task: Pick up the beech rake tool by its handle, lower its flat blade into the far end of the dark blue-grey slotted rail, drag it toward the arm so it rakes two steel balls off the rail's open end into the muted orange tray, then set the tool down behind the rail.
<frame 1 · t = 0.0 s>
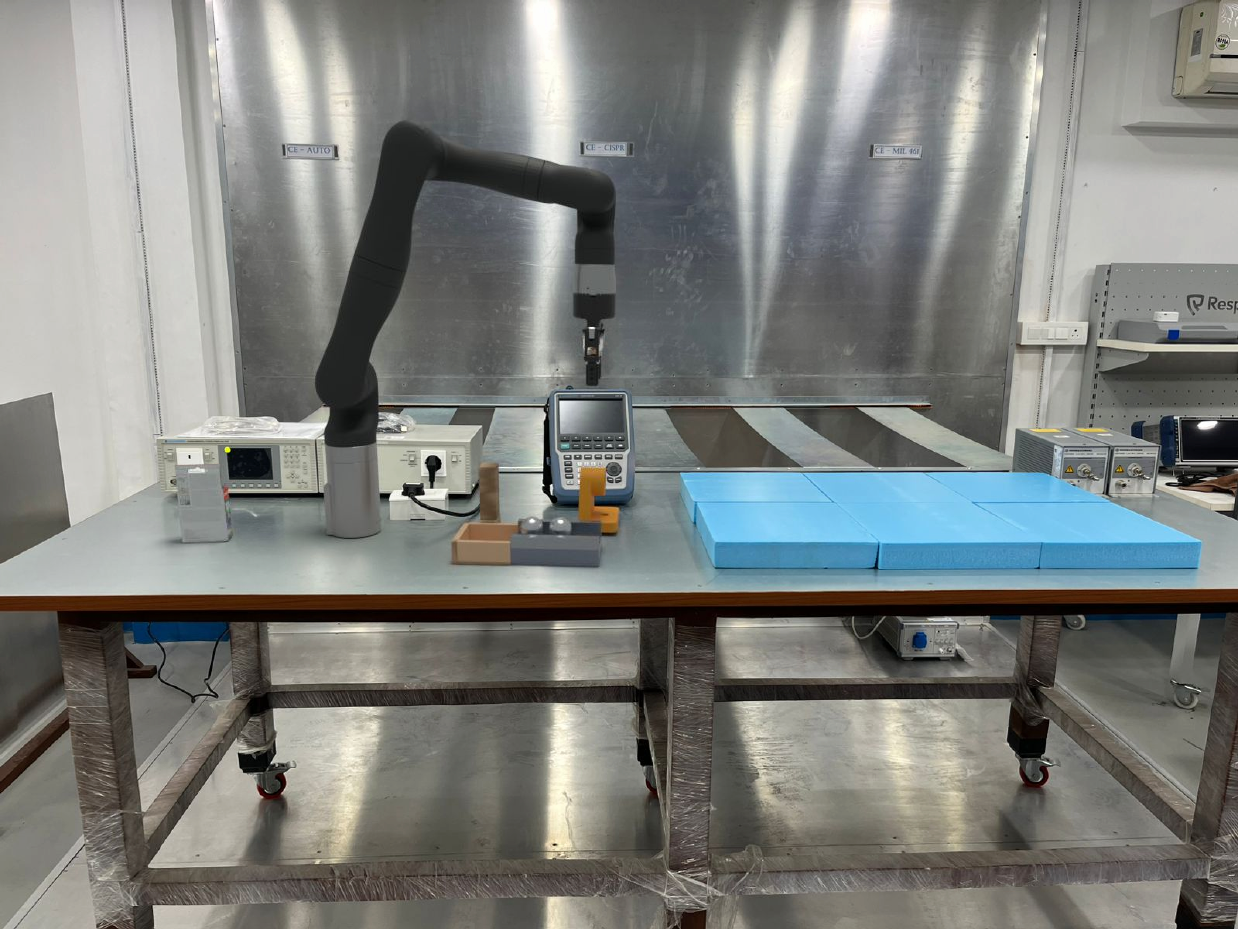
hand: (593, 382, 152), 29 cm above the table, tool pointing down, fingers open, 8 cm apart
rake tool: (490, 537, 158), on the table
slot rail: (557, 555, 149), on the table
ball 2: (560, 539, 148), point 3 cm above the table, touching slot rail
bracket: (599, 528, 165), on the table
ball 1: (532, 538, 148), point 3 cm above the table, touching slot rail
ink box: (208, 541, 154), on the table
tray: (487, 553, 149), on the table
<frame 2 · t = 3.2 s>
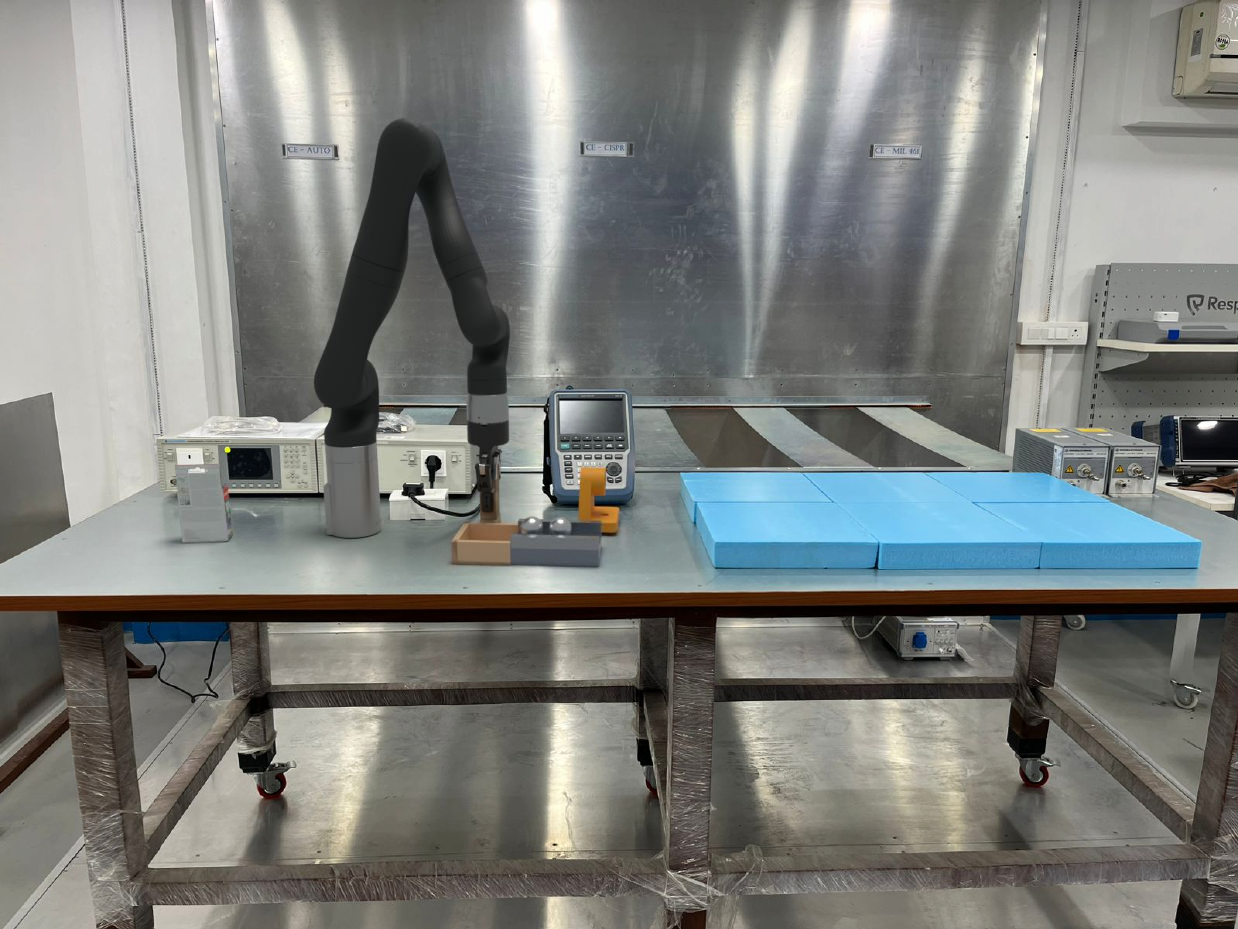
hand: (489, 508, 156), 6 cm above the table, tool pointing down, fingers closed on rake tool, 3 cm apart
rake tool: (490, 537, 158), on the table, touching gripper
everything else where it was.
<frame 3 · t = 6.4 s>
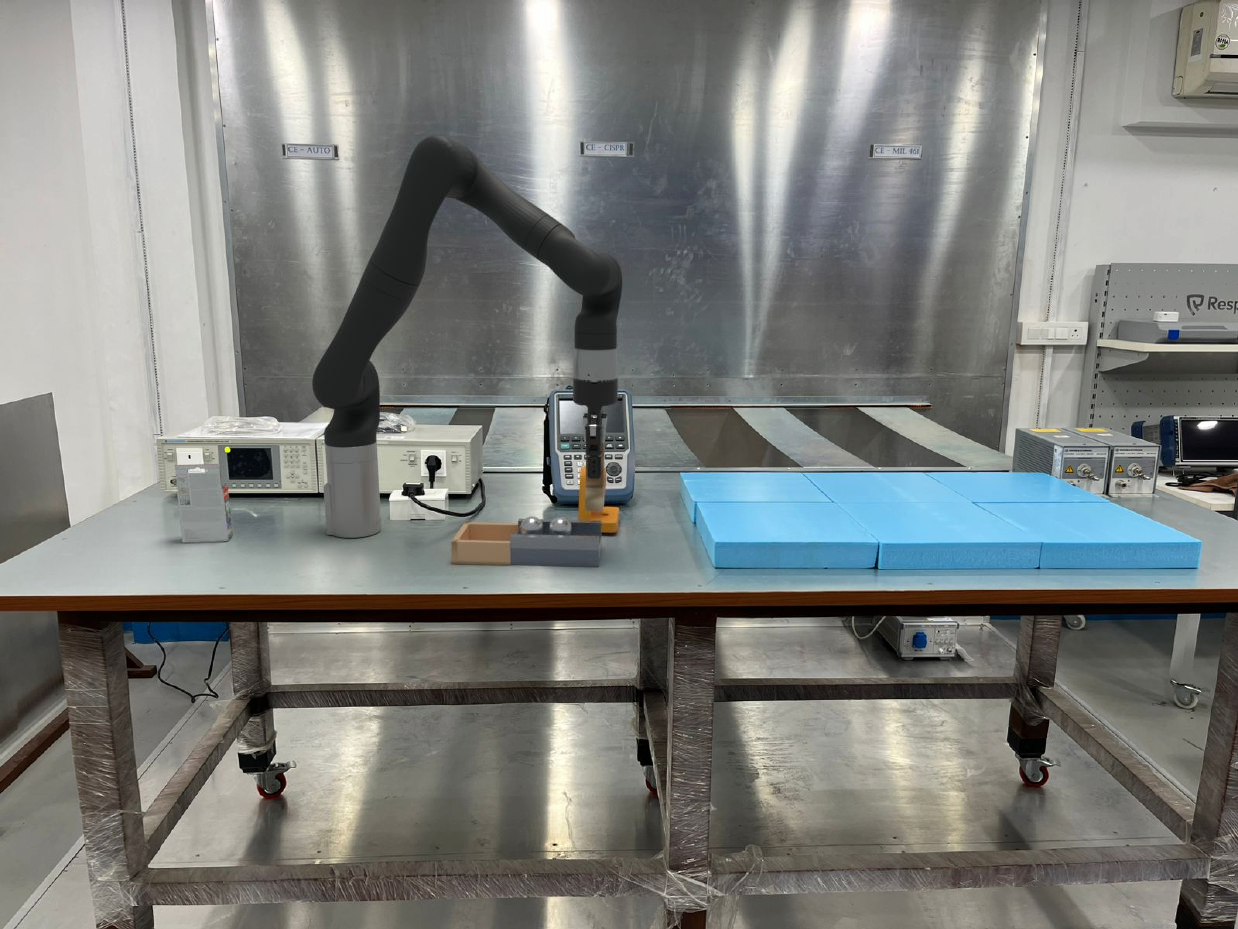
hand: (594, 474, 145), 15 cm above the table, tool pointing down, fingers closed on rake tool, 3 cm apart
rake tool: (594, 506, 146), point 9 cm above the table, touching gripper
everything else where it was.
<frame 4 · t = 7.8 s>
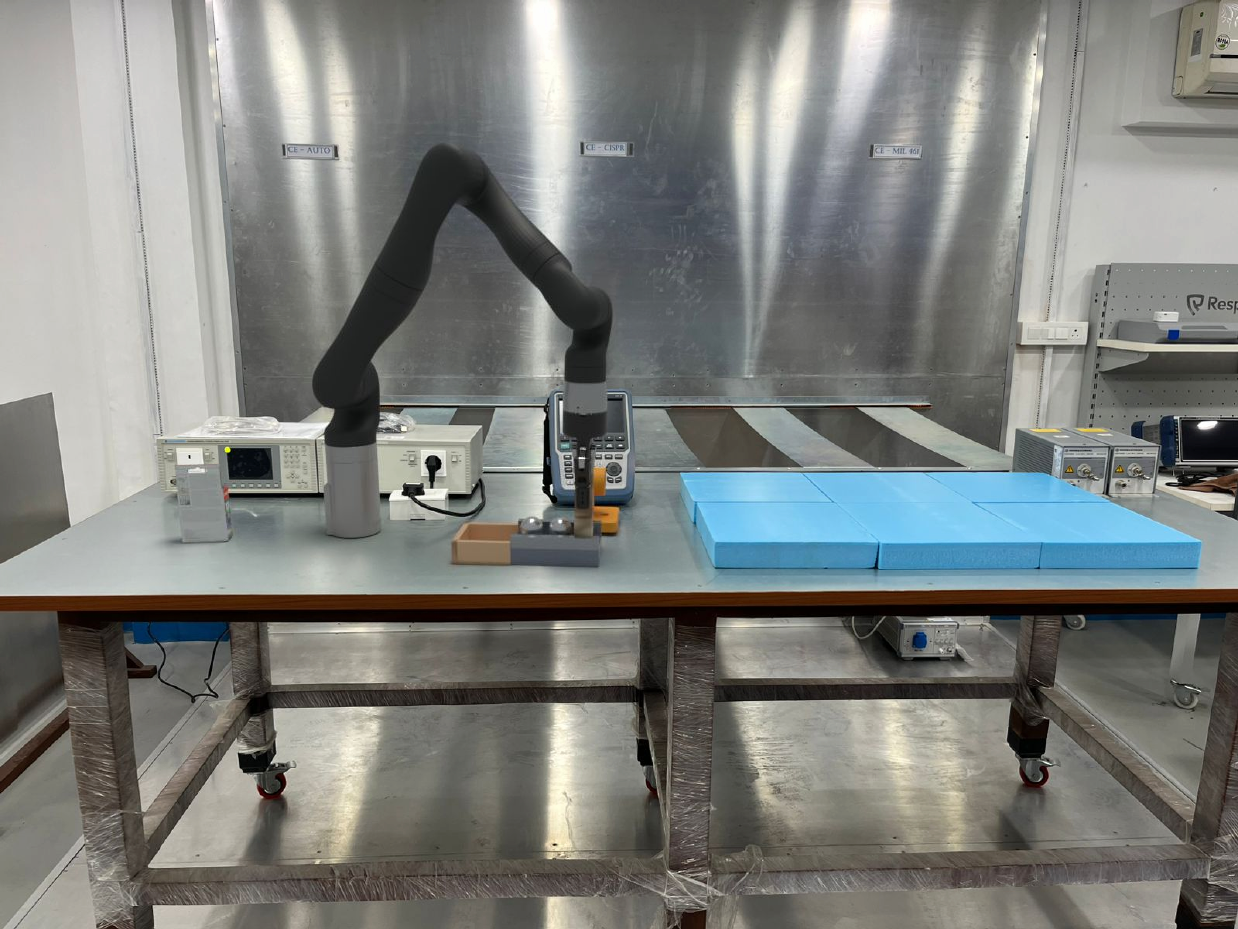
hand: (583, 504, 146), 9 cm above the table, tool pointing down, fingers closed on rake tool, 3 cm apart
rake tool: (583, 536, 148), point 4 cm above the table, touching gripper
everything else where it was.
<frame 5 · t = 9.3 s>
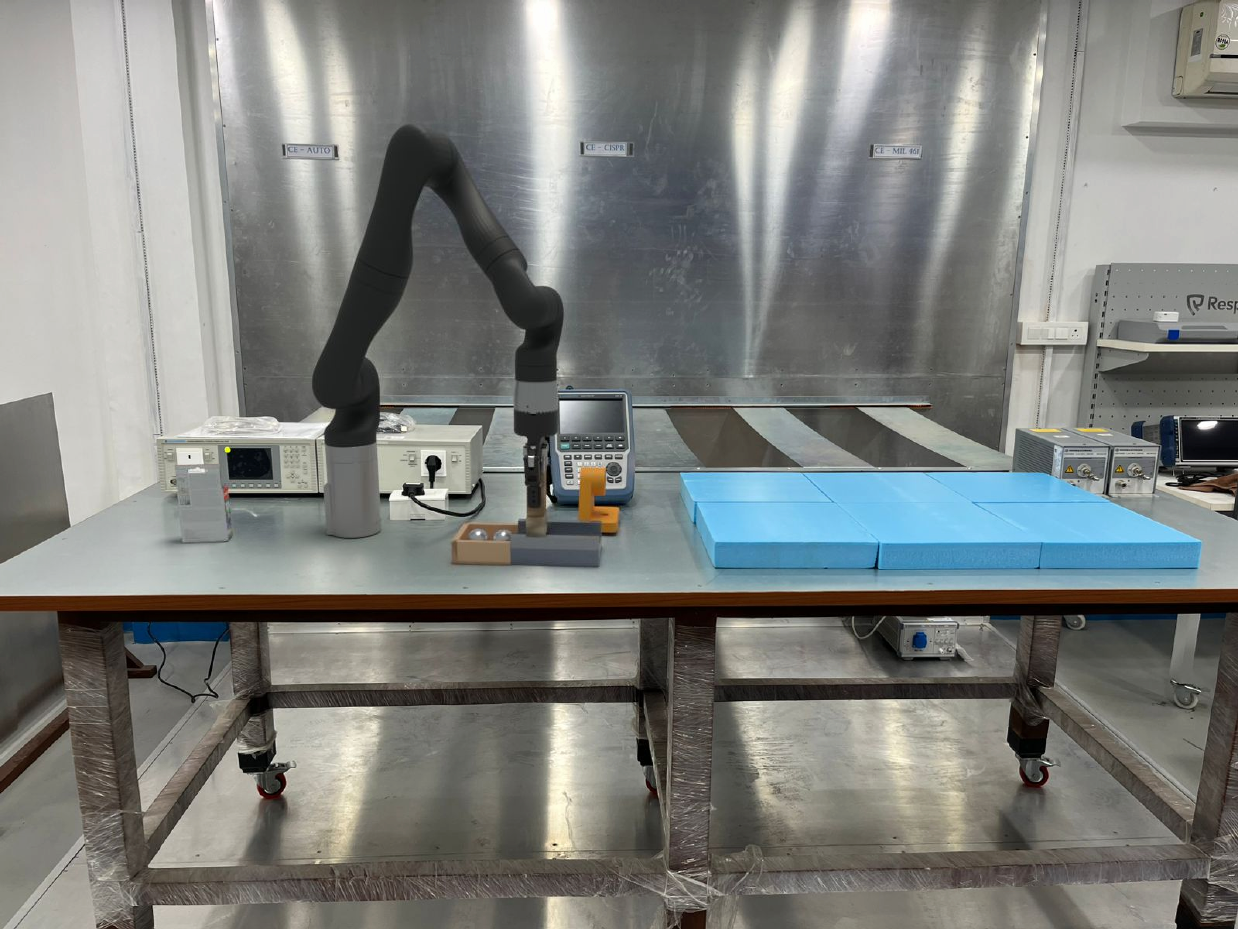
hand: (535, 503, 147), 9 cm above the table, tool pointing down, fingers closed on rake tool, 3 cm apart
rake tool: (536, 535, 148), point 4 cm above the table, touching gripper
ball 2: (493, 545, 148), point 2 cm above the table, tilted 64°, touching tray
ball 1: (468, 544, 149), point 2 cm above the table, tilted 63°, touching tray
everything else where it was.
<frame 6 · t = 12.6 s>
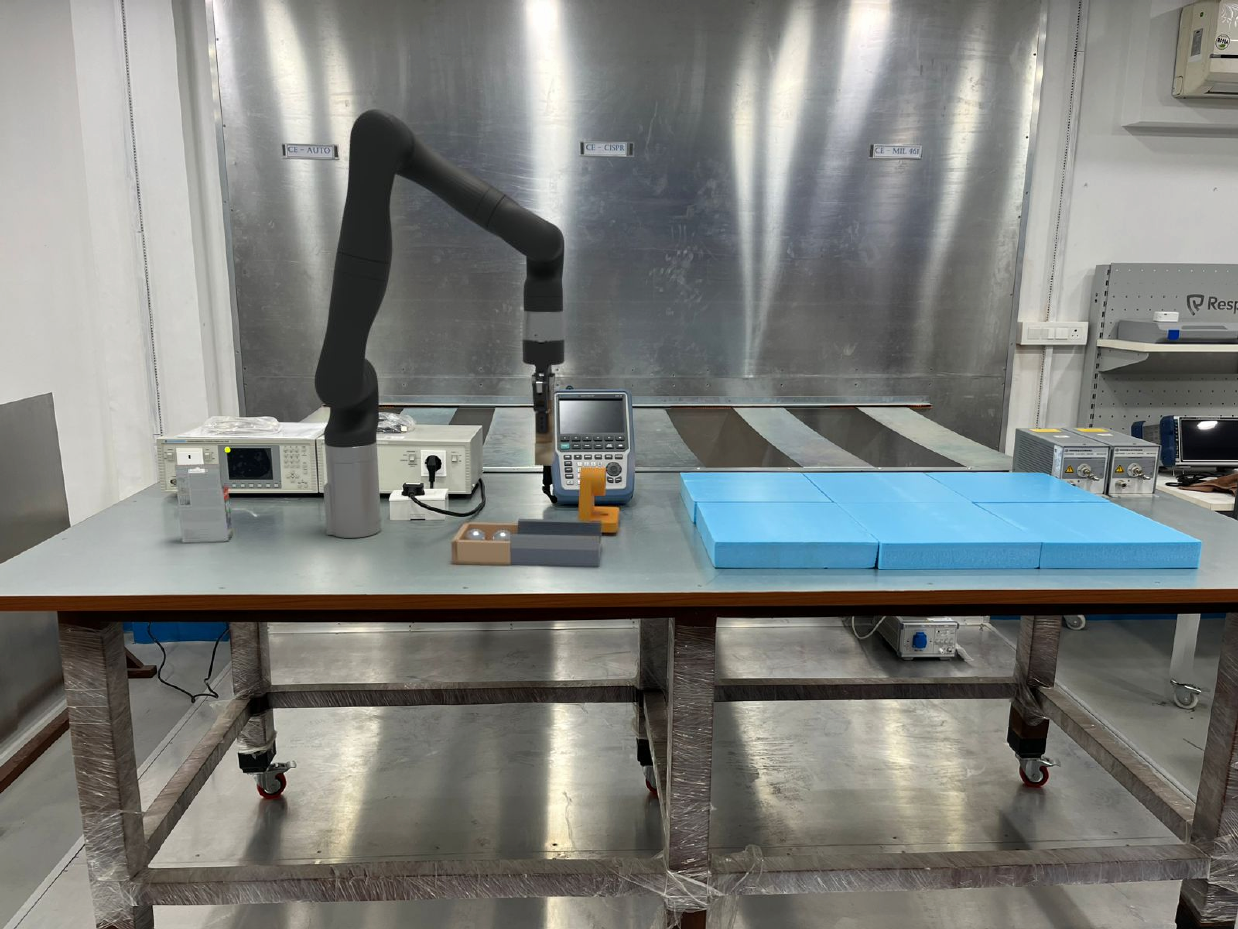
hand: (543, 430, 155), 20 cm above the table, tool pointing down, fingers closed on rake tool, 3 cm apart
rake tool: (544, 462, 156), point 14 cm above the table, touching gripper
ball 1: (467, 546, 149), point 1 cm above the table, tilted 51°, touching tray
everything else where it was.
when the fingers open (6 cm above the table, at t = 15.3 s): rake tool stays where it is, on the table.
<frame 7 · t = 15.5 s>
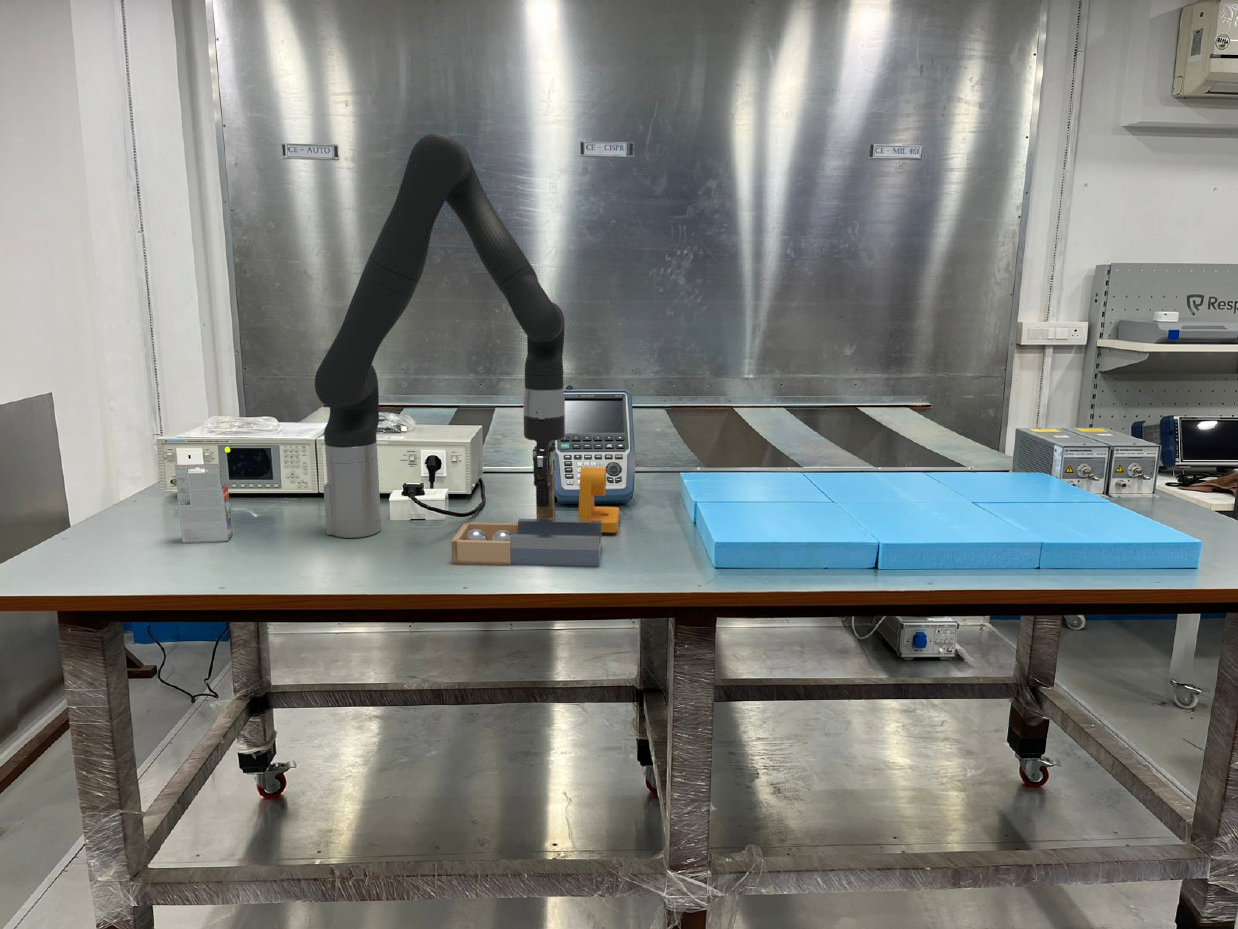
hand: (544, 501, 158), 7 cm above the table, tool pointing down, fingers open, 5 cm apart
rake tool: (545, 535, 159), on the table
everything else where it was.
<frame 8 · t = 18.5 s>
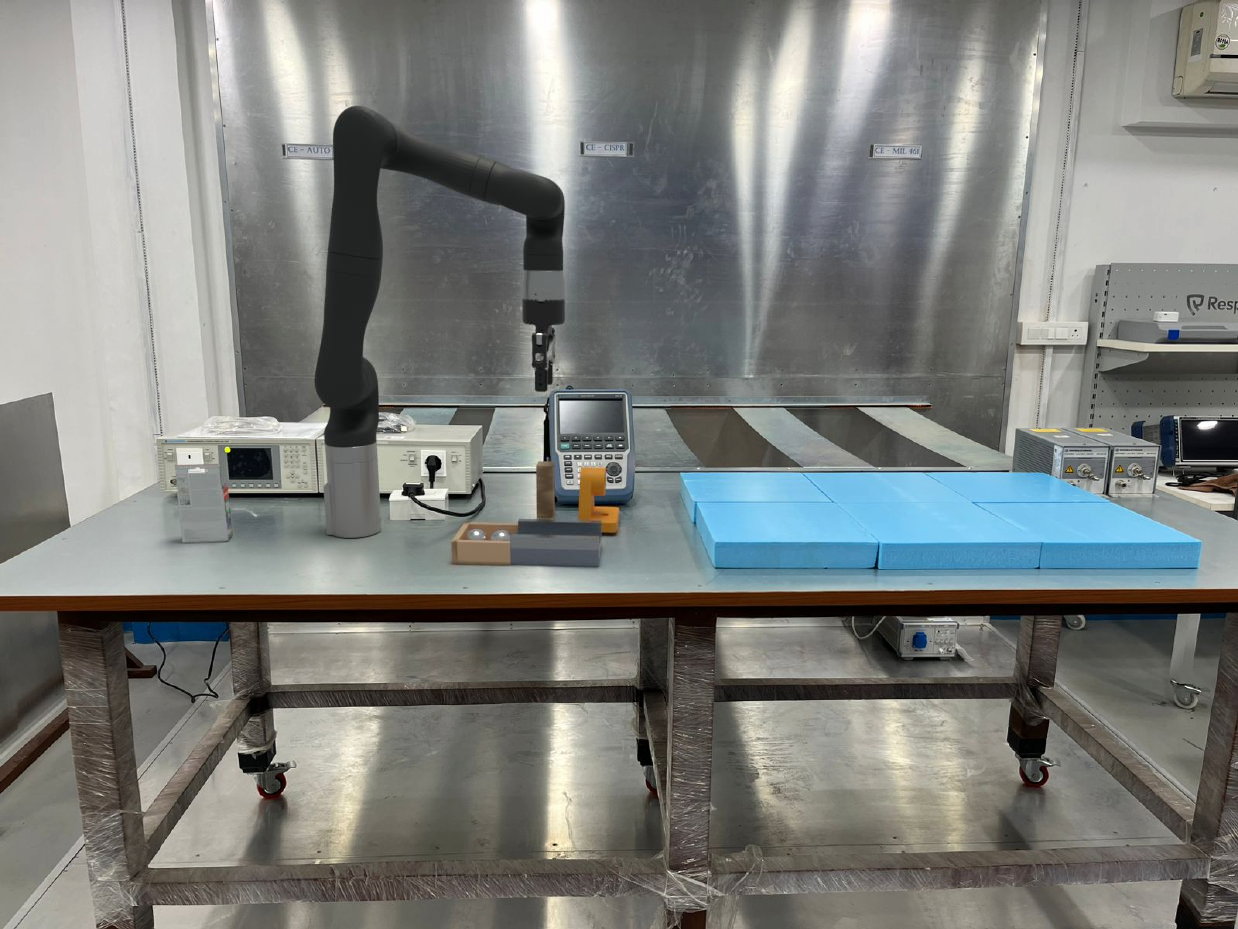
hand: (544, 387, 153), 28 cm above the table, tool pointing down, fingers open, 8 cm apart
ball 2: (492, 546, 148), point 1 cm above the table, tilted 57°, touching tray
everything else where it was.
at the end: ball 1 inside the target area (3.8 cm from its centre), point 1.4 cm above the table; ball 2 inside the target area (0.8 cm from its centre), point 1.4 cm above the table; the gripper is holding nothing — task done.
